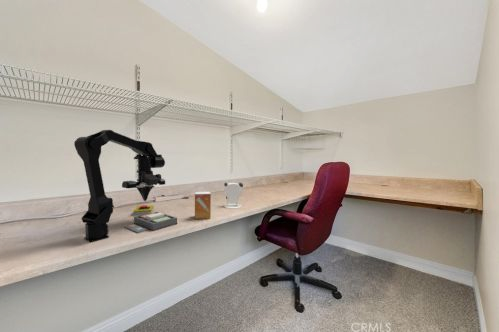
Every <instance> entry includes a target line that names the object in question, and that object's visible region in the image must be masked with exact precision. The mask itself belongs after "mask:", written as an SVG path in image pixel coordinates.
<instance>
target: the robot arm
mask: <svg viewBox="0 0 499 332" xmlns="http://www.w3.org/2000/svg"><path fill="white" fill-rule="evenodd" d="M109 142H111V143H113V144H116V145H119V146H120V145H121V146H122V147H126V148H128V149H131V151H132V152H134V153H136V155H135V156H134V157H133V160H137V170H136V173H137V175H138V176H137V178H136V181H135V180H125V181H122V183H121V188H124V189H137V191H138V192H139V194H140V196H141V198H142V199H143V201H144V202H146V201H147V200H148V197H149V195H150V192H151V190H152V189H153V188H155V186H157V185H160V186H162V185H163V186H164V185H166V179H165V178H162V174H160V173H157V174H154V171H153V170H152V169H157V168H158V169H159V168H161V169H162V168H163V167H164V166H165V165H166V161H165V159H164V157H163V155H162V154H158V153H157V152H156V150H155V148H154V146H153V144H152V143H151V142H148V141H142V140H136V139H133V138H131V137H128V136H125V135H123V134H121V133H118V132H115V131H113V129H102V130H101V131H98V132H96V133H93V134H90V135H87V136H80V137H79V136H78V138H76V139H75V141H74V142H73V143H74V148H75V150H76V153H77V155H78V156H79V157H80V159H81V160H82V161H83V167H84V172H85V175H86V181H87V185H88V191H89V195H90V198H89V201H88V203H87V211H85V213H84V215H83V216H82V217H81V221H82V223H84V226H85V227H84V229H85V236H84V237H83V239H84V240H85V241H87V242H89V243H93V242H96V241H100V240H103V239H104V240H105V239H107V238H109V224H108V223H109V222H110V219H111V216H112V214H113V213H114V208H115V206H114V202H113V198H112V197H108V196H107V195H106V192H105V186H104V181H103V175H102V171H101V165H100V157H101V153H102V146H105V145H107V144H108V143H109Z"/></svg>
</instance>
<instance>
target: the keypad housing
mask: <svg viewBox="0 0 499 332" xmlns="http://www.w3.org/2000/svg"><path fill="white" fill-rule="evenodd" d="M153 213H155V214H156V213H160V212H159V211H153ZM150 214H152V213H150ZM163 214H164V217H169V218H171V219H168V220H164V221H161V222H157V223H153V220H156V219H153V220H149V221H148V220H146V218H142V219H141V218H140V216H136V217H133V224H135V225H138V226H140V227H143V228H145V229H147V230H150V231H152V232H154V231H158V230H162V229H164V228H169V227H173V226H175V225H177V224H178V217H177V216H173V215H170V214H166V213H163ZM145 215H147V214H145ZM141 216H143V215H141ZM164 217H161V218H164ZM157 219H160V218H157Z"/></svg>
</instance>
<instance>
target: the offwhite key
mask: <svg viewBox="0 0 499 332" xmlns="http://www.w3.org/2000/svg"><path fill="white" fill-rule="evenodd" d="M164 214H165V213H162V212H159V213H156V214H152V215H148V216H146V220H148V221H149V220H153V219H157V218H161V217H164Z"/></svg>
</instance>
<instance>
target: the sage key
mask: <svg viewBox="0 0 499 332" xmlns="http://www.w3.org/2000/svg"><path fill="white" fill-rule="evenodd" d="M168 219H171V218H169V217H164V218H160V219H156V220H153V223H157V222H161V221H164V220H168Z"/></svg>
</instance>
